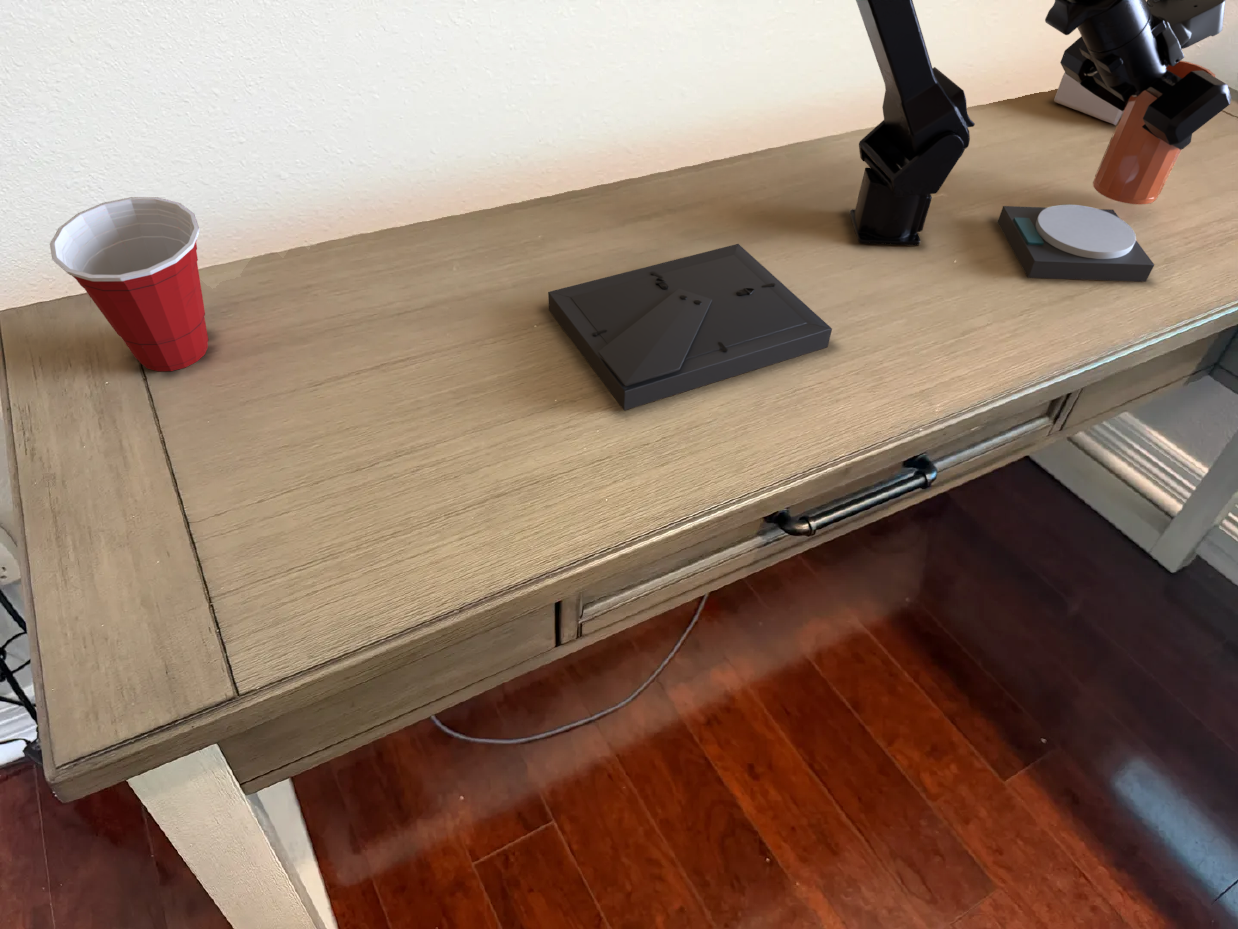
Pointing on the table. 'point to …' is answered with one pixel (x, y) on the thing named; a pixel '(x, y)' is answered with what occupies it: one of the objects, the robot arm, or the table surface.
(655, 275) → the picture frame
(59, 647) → the table surface
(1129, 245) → the scale
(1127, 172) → the tumbler
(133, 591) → the table surface
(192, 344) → the plastic cup
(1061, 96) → the charger
